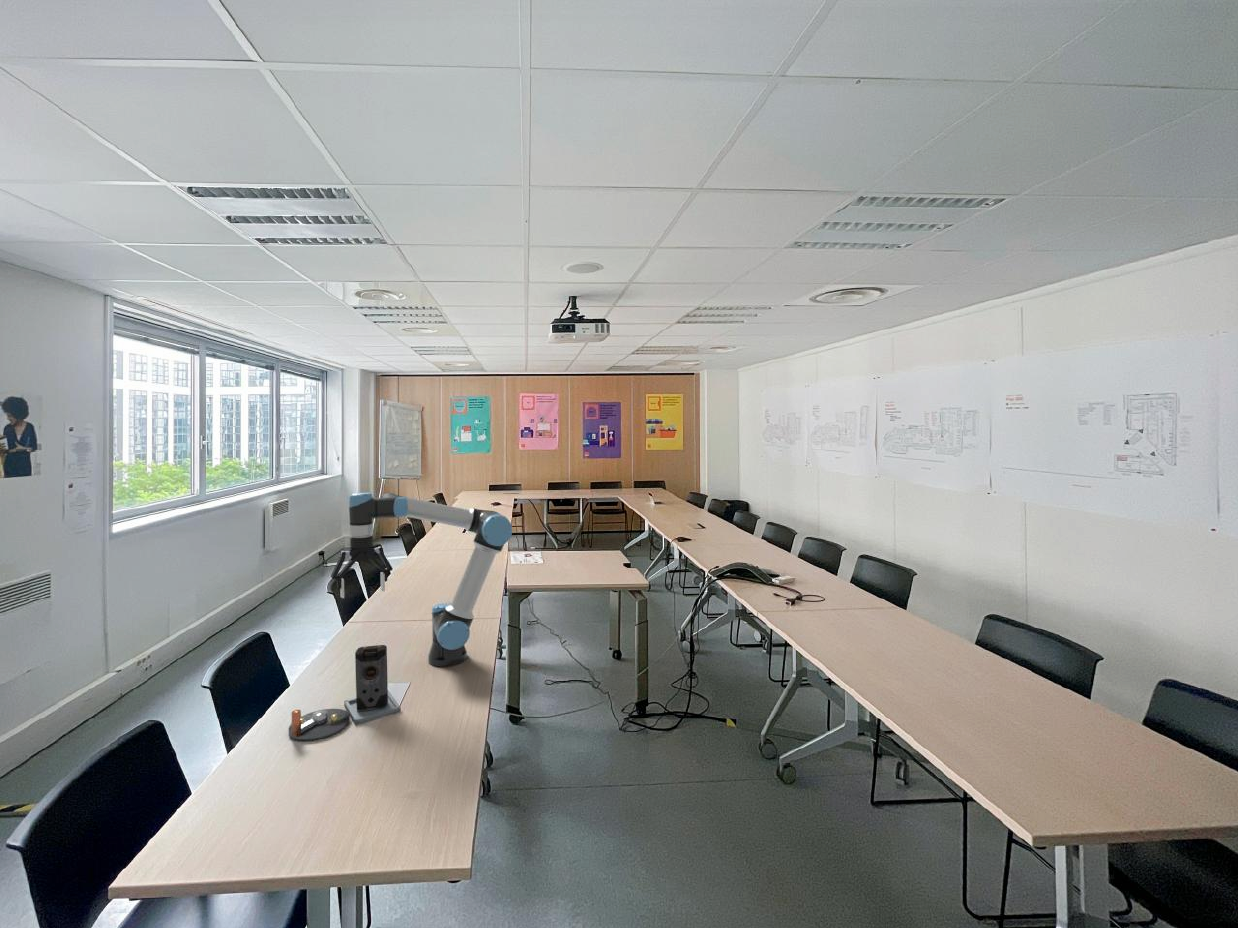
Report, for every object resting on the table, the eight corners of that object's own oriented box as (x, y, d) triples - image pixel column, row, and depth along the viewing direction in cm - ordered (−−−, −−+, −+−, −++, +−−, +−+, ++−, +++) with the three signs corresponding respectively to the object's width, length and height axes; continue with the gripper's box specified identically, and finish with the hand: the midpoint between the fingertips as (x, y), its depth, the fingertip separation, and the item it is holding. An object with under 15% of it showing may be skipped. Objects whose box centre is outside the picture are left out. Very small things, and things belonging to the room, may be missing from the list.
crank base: (343, 707, 184) (343, 696, 184) (355, 729, 171) (355, 716, 170) (285, 724, 173) (284, 712, 173) (292, 748, 160) (292, 735, 160)
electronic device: (355, 713, 179) (354, 653, 178) (359, 704, 185) (357, 646, 184) (386, 709, 182) (384, 650, 181) (388, 700, 188) (387, 644, 187)
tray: (387, 693, 194) (387, 689, 194) (400, 711, 181) (400, 707, 181) (344, 705, 185) (344, 701, 185) (355, 725, 173) (355, 720, 173)
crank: (320, 716, 175) (320, 695, 174) (330, 719, 173) (330, 697, 173) (287, 734, 164) (287, 712, 164) (298, 737, 163) (297, 715, 162)
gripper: (394, 530, 206) (395, 585, 208) (320, 538, 191) (322, 597, 192) (400, 533, 201) (401, 590, 202) (324, 541, 185) (326, 602, 186)
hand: (363, 594), depth 197 cm, fingers open, 13 cm apart
